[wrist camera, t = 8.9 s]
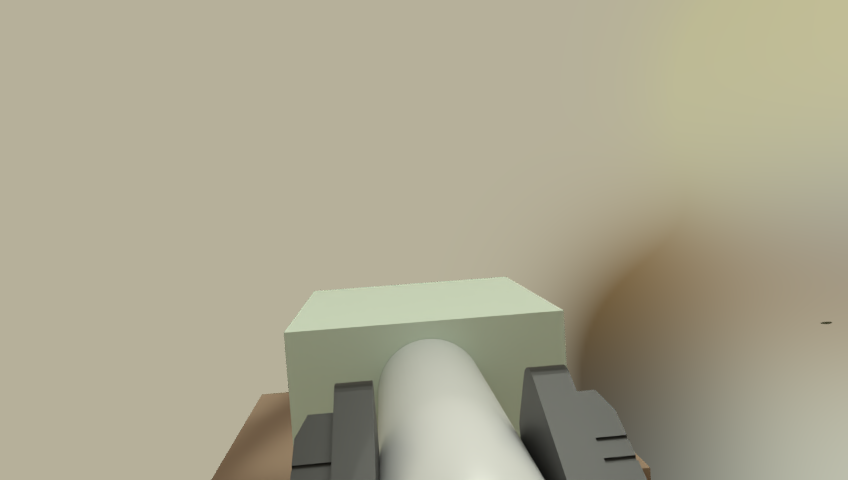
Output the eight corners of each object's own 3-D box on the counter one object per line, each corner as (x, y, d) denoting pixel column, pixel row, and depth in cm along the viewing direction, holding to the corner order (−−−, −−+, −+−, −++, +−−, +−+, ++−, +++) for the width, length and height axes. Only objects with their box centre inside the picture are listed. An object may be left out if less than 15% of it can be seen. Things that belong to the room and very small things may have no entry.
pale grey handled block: (511, 370, 26) (506, 276, 25) (962, 942, 6) (959, 541, 6) (321, 386, 25) (314, 291, 25) (105, 1079, 5) (55, 641, 5)
